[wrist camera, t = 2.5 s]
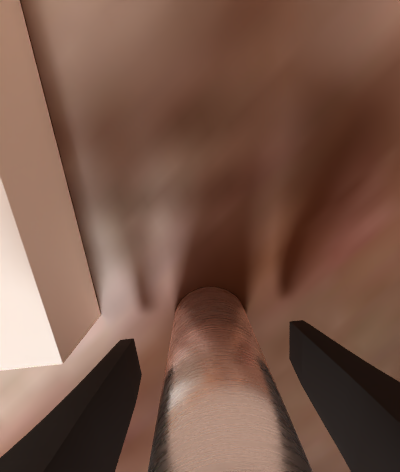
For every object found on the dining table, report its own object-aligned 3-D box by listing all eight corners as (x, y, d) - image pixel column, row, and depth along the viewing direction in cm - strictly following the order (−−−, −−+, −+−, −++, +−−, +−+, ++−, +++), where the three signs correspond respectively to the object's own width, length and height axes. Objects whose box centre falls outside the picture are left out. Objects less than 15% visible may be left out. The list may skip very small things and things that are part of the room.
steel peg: (251, 348, 11) (391, 728, 3) (175, 356, 11) (124, 757, 3) (248, 277, 10) (441, 580, 2) (163, 286, 10) (47, 621, 2)
